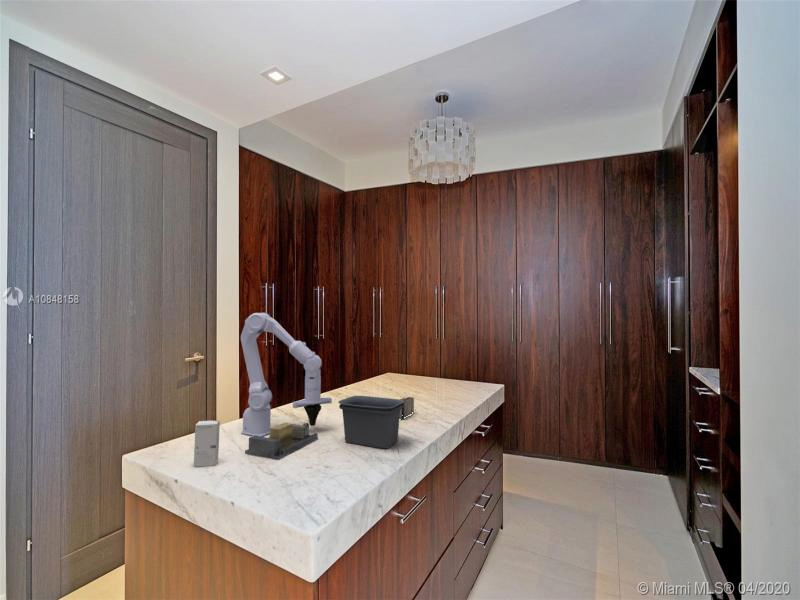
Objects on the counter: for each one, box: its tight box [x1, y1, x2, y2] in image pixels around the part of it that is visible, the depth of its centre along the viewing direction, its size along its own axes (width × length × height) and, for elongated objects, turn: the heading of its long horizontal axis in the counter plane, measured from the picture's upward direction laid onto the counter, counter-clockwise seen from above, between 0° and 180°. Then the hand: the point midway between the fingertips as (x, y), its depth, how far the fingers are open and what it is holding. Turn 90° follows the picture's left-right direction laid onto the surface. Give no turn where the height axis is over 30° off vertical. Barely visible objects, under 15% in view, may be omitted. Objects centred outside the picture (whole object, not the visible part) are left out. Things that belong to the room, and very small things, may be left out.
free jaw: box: [291, 422, 310, 440], centre depth 142 cm, size 10×8×4 cm
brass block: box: [269, 422, 293, 447], centre depth 133 cm, size 4×7×6 cm, turn 158°
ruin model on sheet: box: [398, 396, 415, 420], centre depth 171 cm, size 11×3×10 cm, turn 152°
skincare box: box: [193, 419, 221, 467], centre depth 119 cm, size 6×4×12 cm
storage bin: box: [337, 395, 404, 449], centre depth 139 cm, size 21×16×14 cm
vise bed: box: [244, 432, 319, 461], centre depth 134 cm, size 13×21×5 cm, turn 157°
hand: (312, 425), depth 149 cm, fingers closed
